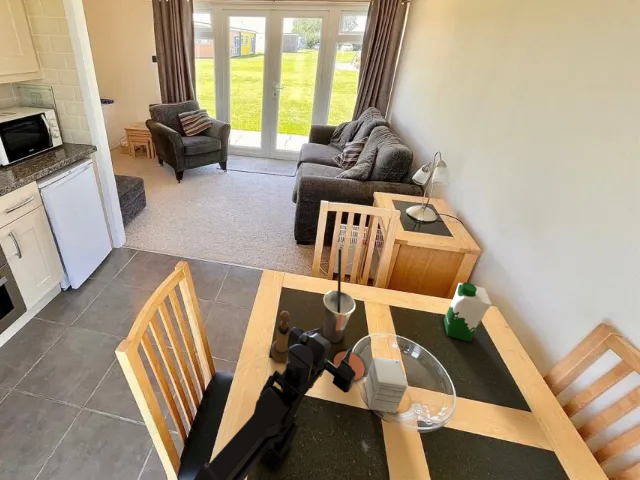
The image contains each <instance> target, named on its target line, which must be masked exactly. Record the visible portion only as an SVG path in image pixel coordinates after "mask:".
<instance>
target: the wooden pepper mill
mask: <svg viewBox="0 0 640 480" xmlns="http://www.w3.org/2000/svg"><path fill="white" fill-rule="evenodd" d="M279 319H280V321H281V322H280V324H279V325H278V326H277V327H276V337H275V340H274V341H273V342H272V344H271V347H270V354H271V357H272V359H273V360H275V362H277V363H280V364H282V363H283V364H284V363H286V361H287V355H288V351H289V349H290V348H288V347H287V338H288V333H289V331H290V330H291V328H290V326H289V323H288V322H289V321H290V319H291V314H290V312H289V311H287V310H282V311H281V312H280V313H279Z"/></svg>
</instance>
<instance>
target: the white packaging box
mask: <svg viewBox="0 0 640 480" xmlns="http://www.w3.org/2000/svg"><path fill="white" fill-rule="evenodd" d="M364 386H365V391H366V396H367V403H368V410H372V411H380V412H386V413H392V414H396V413H397V411H398V409H399V407H400V404H401V402H402V400H403V398H404V395H405V393H406V392H407V391H406V390H407V389H408V384H407V381H406V378H405V373H404V370H403V367H402V364H401V360H400V359H393V358H392V359H391V358H385V357H379V356H378V357H377V356H373V357H372V360H371V363H370V365H369V369H368V372H367V376H366V378H365V382H364Z"/></svg>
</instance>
